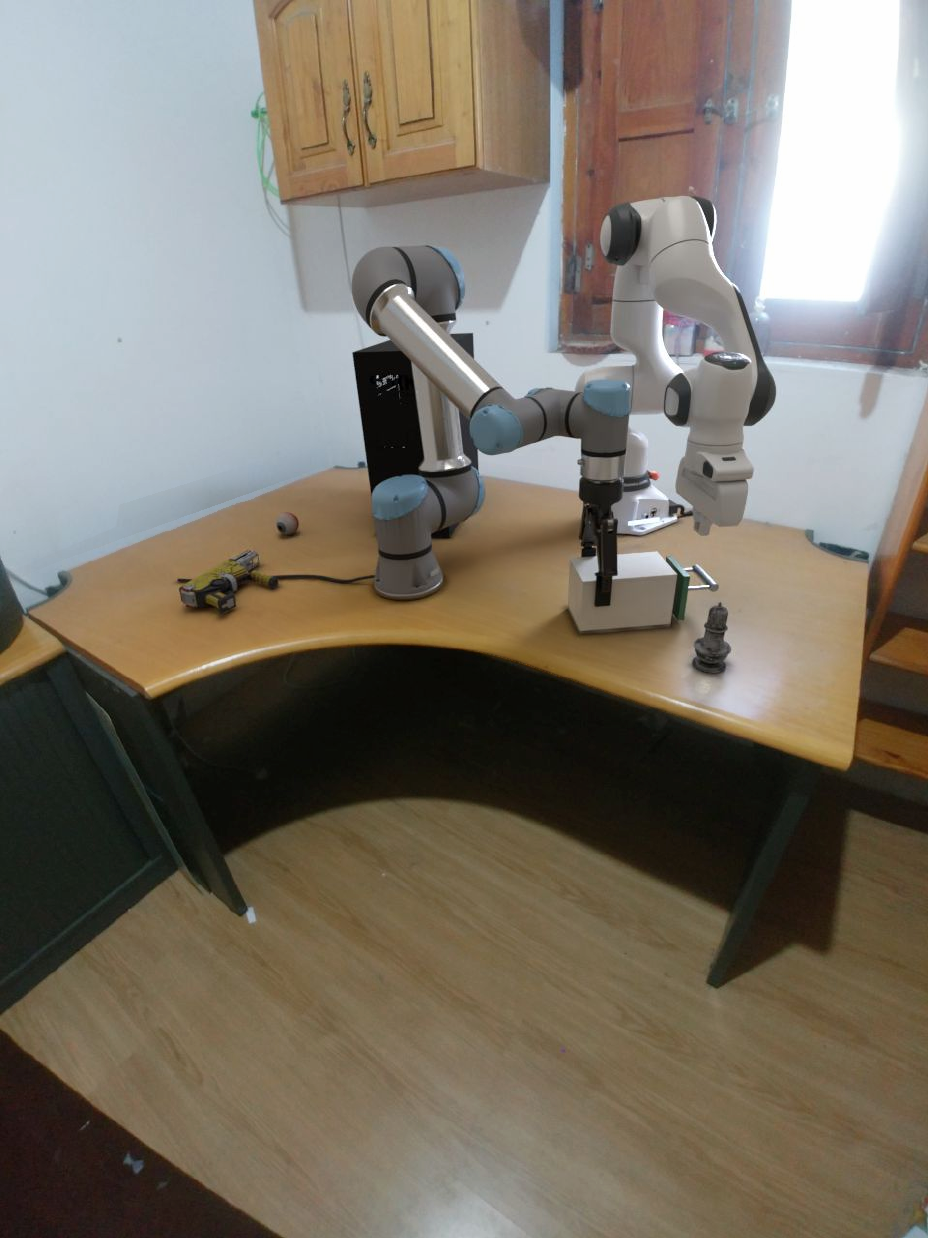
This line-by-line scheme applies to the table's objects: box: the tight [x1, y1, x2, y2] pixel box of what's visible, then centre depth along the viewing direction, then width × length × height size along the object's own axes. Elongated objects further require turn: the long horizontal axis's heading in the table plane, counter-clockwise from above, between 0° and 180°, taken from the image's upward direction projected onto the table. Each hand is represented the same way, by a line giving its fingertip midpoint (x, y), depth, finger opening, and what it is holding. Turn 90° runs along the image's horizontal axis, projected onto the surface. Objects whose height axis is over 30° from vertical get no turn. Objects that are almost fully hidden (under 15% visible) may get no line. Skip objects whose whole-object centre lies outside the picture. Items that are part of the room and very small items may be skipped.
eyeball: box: [275, 511, 300, 536], centre depth 163 cm, size 6×6×6 cm
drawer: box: [665, 555, 720, 622], centre depth 115 cm, size 22×9×9 cm, turn 94°
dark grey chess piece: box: [692, 601, 732, 674], centre depth 99 cm, size 6×6×12 cm
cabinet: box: [567, 551, 677, 636], centre depth 115 cm, size 17×10×11 cm, turn 94°
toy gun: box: [178, 549, 279, 615], centre depth 136 cm, size 5×24×15 cm
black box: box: [351, 332, 480, 539], centre depth 164 cm, size 38×20×45 cm, turn 167°
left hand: (594, 591), depth 114 cm, fingers closed on cabinet, 10 cm apart
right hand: (700, 532), depth 110 cm, fingers closed
